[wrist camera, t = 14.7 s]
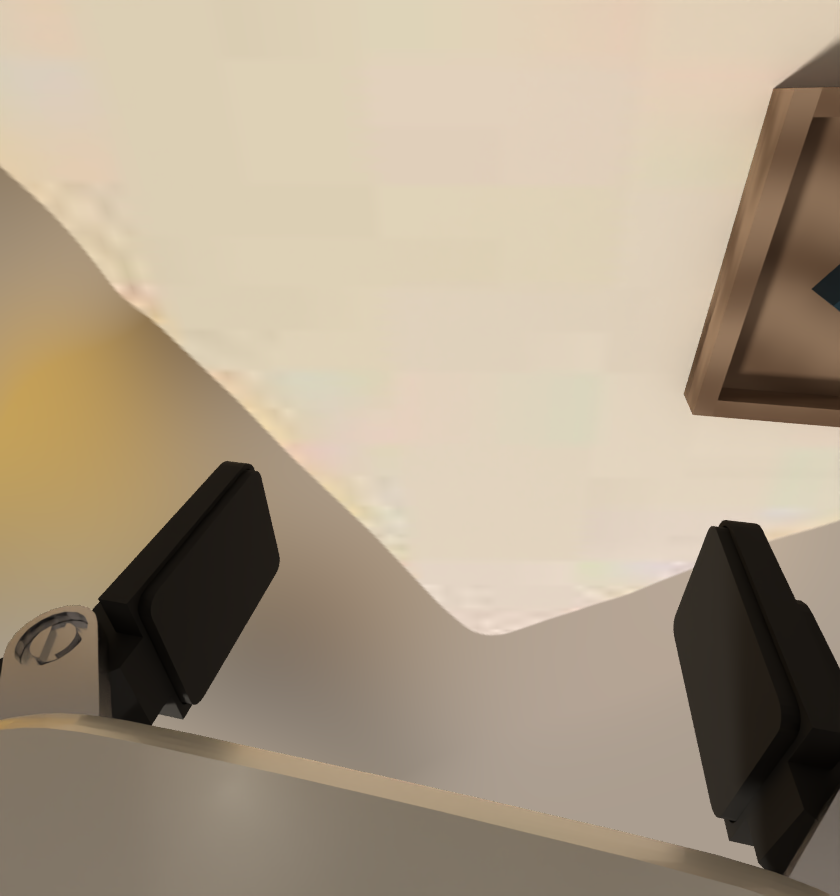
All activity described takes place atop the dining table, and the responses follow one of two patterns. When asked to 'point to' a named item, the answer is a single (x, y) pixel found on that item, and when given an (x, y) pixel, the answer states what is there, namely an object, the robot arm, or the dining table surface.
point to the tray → (779, 276)
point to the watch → (830, 288)
